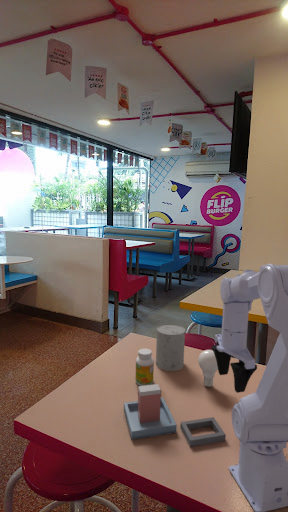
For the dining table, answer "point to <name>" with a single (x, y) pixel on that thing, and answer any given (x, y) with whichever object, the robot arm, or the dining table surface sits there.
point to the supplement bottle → (144, 367)
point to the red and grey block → (149, 403)
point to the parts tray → (149, 428)
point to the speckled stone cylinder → (170, 347)
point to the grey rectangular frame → (202, 439)
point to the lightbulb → (208, 366)
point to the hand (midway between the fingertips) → (231, 382)
